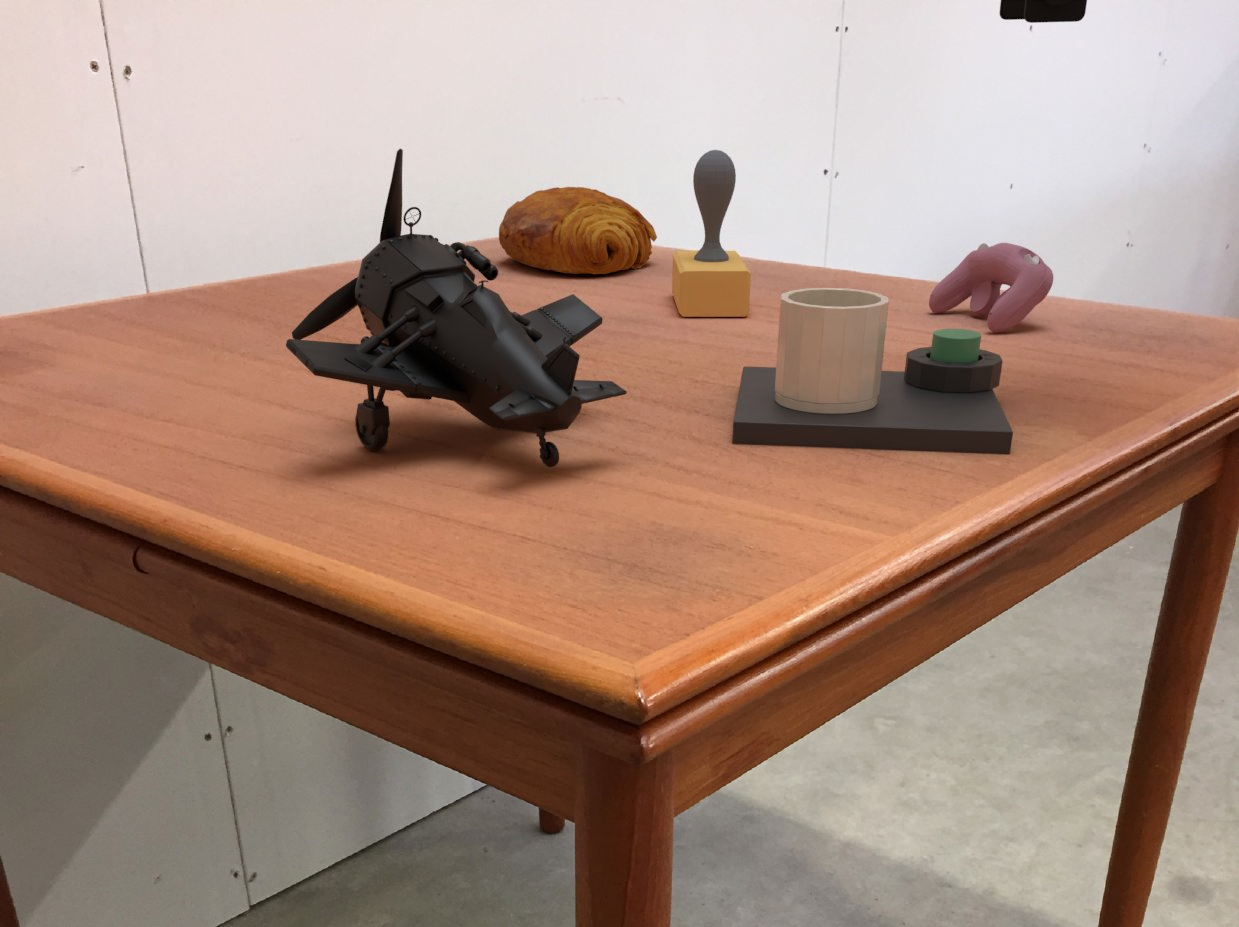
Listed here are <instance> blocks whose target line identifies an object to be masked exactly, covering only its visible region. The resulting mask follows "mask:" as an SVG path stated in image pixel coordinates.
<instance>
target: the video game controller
mask: <svg viewBox="0 0 1239 927" xmlns="http://www.w3.org/2000/svg"><path fill="white" fill-rule="evenodd" d="M1053 284H1054V273H1053V270H1052V269H1051V267H1050V266H1048V264H1046V263H1045V262H1044V260H1043V259H1042V258H1041V256H1039V255H1038V254H1037V253H1035V252H1034V251H1033V250H1031V249H1029V248H1027V247H1024V246H1021V245H1017V244H1015V243H1010V242H999V243H996V244H993V245H990V246H989V245H988V244H987V243H985V242H983V243H980V244H979V246H978V248H977V249H976V250H972V251H970V252H969V253H968V254H967V255H966V256H965V257H964V259H962V260H961V262H960V263H959V264H958V265H957V266H956V267H955V268H954V269H953V270H951V272H950V273H948V274H947V275H945V277H944V278H943V279H941V280H940V281H939V283H937V285H935V287H934V288H933V290H932V292H931V293H930V296H929V301H928V307H929V309H930V310H931V312H932V313H934V314H940V313H945V312H948V311H950V310H952V309H954V308H956V307H958V306H959V305H961V304H962V303H963V302H965V301H966V300H968V299H969V298H970V301H969V309H970V310H971V311H972V312H974V313H975V314H977V315H979V316H980V317H982V318H983V317H984V318H985V317H987V318H986V325H987V328H988V330H989V331H990V332H992V333H993V334H995V333H1001V332H1004V331H1008V330H1010V329H1013V328H1014V327H1016V326H1017V325H1018V324H1020V323H1021V322H1022V321H1023V320H1024V319H1025V318H1026V317H1027V316H1028V315H1029V314H1030V313H1031V312H1032V311H1033V310H1034V308H1035V307H1036V306H1038V305H1039V304H1041V303H1042V301H1044V300H1045V299H1046V297H1047V296H1048V294H1049V293H1050V291H1051V289H1052V286H1053ZM1002 285H1006V286H1008V288H1007V289H1006V290H1004V291H1003V292H1002V293H1001V288H1002Z"/></svg>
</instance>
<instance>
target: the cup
mask: <svg viewBox="0 0 1239 927" xmlns="http://www.w3.org/2000/svg"><path fill="white" fill-rule="evenodd" d="M779 302H780V303H779V317H778V318H779V319H778V333H777V350H776V365H775V367H776V379H775V396H774V399H775V401H776V403H778V404H779V405H781V406H783V407H786V408H789V409H792V410H797V411H802V412H809V413H818V414H848V413H857V412H862V411H866V410H869V409H872V408H874V407H875V406H876V405H877V404H878V395H879V392H880V382H881V372H882V371H883V360H884V350H885V343H886V335H887V334H886V333H887V325H888V324H887V323H888V313H889V304H890V301H889V297H887V296H886V295H883V294H881V293H879V292H874V291H869V290H865V289H863V290H862V289H856V288H855V289H854V288H846V287H845V288H844V287H809V288H800V289H793V290H789V291H786V292H784V293H781V294H780V300H779Z"/></svg>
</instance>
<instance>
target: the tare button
mask: <svg viewBox="0 0 1239 927" xmlns="http://www.w3.org/2000/svg"><path fill="white" fill-rule="evenodd" d="M981 341H982V334H981V333H980V332H978V331H975V330H972V329H965V328H940V329H937V330H934V331H933V332H932V338H931V346H930V347H931V354H930V359H933V360H937V361H944V362H955V363H969V362H977V361H978V356H979V349H981Z"/></svg>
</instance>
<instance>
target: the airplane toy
mask: <svg viewBox="0 0 1239 927" xmlns="http://www.w3.org/2000/svg"><path fill="white" fill-rule="evenodd" d="M403 158H404V150H403V148H399V149H398V150H397V151H396V154H395V160H394V164H393V170H392V175H391V180H390V185H389V190H388V194H387V198H386V203H385V206H384V213H383V218H382V223H381V227H380V228H381V229H380V235H379V243H377V244H376V245H375V247H374V248H372V249H371V250H370V251H369V252H368V253H367V254H366V255H365V256H364V257H363V258H362V259H361V262H360V263H361V264H360V268H359V270H358V271H359V272H358V275H357V277H355V278H353V279H352V280H350V281H349V282H347V283H346V284H344V285H343V286H342V287H340V288H339V289H337V290H335V291H334V292H333V293H331V294H329V296H327V297H326V298H325V299H324V300H323V301H321V302H320V303H319V304H318V305H317V306H316V307H314V309H312V310H311V311H310V312H309V313H308V314H307V315H306V317H305V318H303V319H302V320H301V322H300V323H299V324H298V325H297V326H296V327H295V328H294V329H293V330H292V331H291V336H292V338H288V339H287V340H286V343H285V347H286V348H287V350H288V351H289V352H291V354H292V355H294V356H295V357H296V358H297V360H298V361H300V362H301V363H302V365H303V366H305V367H306V368H307V369H308V370H309V371H310V372H311V373H312V374H313V375H314V376H316V377H321V378H327V379H332V380H338V381H343V382H348V383H354V384H359V385H364V386H366V390H367V398H365V399H363V401H362V402H360V403H357V407H356V413H355V418H354V421H355V422H354V425H355V432H356V434H357V437H358V438H359V442H360V443H361V445H363V448H366V449H367V450H369V451H373V452H376V451H380V450H382V449H383V448H385V447H386V445H387V443H388V440H389V427H390V426H391V420H390V419H391V418H390V409H389V406H388V405H386V404H385V402H384V401H383V400H384V397H385V394H386V391H390V392H394V391H397V392H400V393H401V394H402V395H403V396H404V397H405V398H407V399H418V400H428V401H431V400H432V398H436V399H440V400H441V399H442V400H447V401H452V402H454V403H455V404H457V405H459V406H460V407H461V408H462V409H464V410H465V411H466V412H468V413H470V414H471V415H472V416H473V417H475V418H476V419H478V420H479V421H480V422H482V423H483V424H485V425H487V426H489V427H491V428H493V429H496V430H498V431H505V432H506V431H507V432H517V433H526V434H527V433H528V434H535V435H536V437H537V438H538V439H539V441H538V444H539V446H540V448H539V458H540V459H541V461H542V463H543V464H544V466H546V467H547V468H555V467H556V466H557V465H558V464H559V461H560V452H559V449H558V446H557V445H556V444H555V443H554V442H552V441H549V440H548V441H547V439H546V438H545V437H546V436H547V434H546V433H552V432H559V431H563V430H568V429H569V427H570V426H571V425H572V424H573V422H574V421H575V420H576V418H577V417H578V416H579V414H580V412H581V411H582V406H583V405H585V404H588V403H593V402H594V403H595V402H597V401H602V400H606V399H612V398H615V397H621V396H625V395H626V394H627V393H628V391H626V390H625V389H624V388H623V387H622V386H619V384H616V383H615V382H614V381H613V380H589V379H588V380H587V379H585V380H584V379H576V375H577V370H578V366H579V362H580V357H581V355H580V354H579V353H578V352H577V351H575V349H573V348H572V347H571V346H574V344H575V343H577V342H579V341H580V340H581V339H583V338H584V337H585V336H587V335H588V334H590V333H591V332H592V331H594V330H596V329H597V328H598V327H599V326H601V325H602V324H603V317H602V316H601V315H600V314H599V313H598V312H596V311H595V310H593V309H592V308H591V307H590V306H588V305H587V304H586V303H585V302H584V301H582V299H580V298H579V297H578V296H576V295H575V294H574V293H573V294H569V295H567V296H564V297H562V298H560V299H558V300H555V301H553V302H550V303H548V304H545V305H543V306H541V307H538V308H536V309H533V310H531V311H528V312H526V313H524V314H520V313H518V312H517V311H511V310H510V309H509V308H508V307H507V305H506V304H505V302H504V300H503V299H502V297H501V296H500V294H499V293H497V292H496V291H493V290H492V289H490V288H488V287H486V286H485V284H484V283H489V281H495V280H496V279H497V278H498V275H499V269H498V267H497V266H496V265H494V264H492V262H491V260H490V259H489V258H488V257H487V256H485V255H484V254H482V253H481V252H480V250H479V249H477V248H476V246H473V245H468V244H467V245H466V244H465V243H463V242H460V241H457V242H456V241H455V242H452V243H451V244H450V245H449V244H448V243H445V244H443V243H441V242H440V240H439V239H438V237H434V235H432V234H418V233H413V227H414V226H416V225H417V224H418V223H419V222H420V220H421V218H422V211H421V209H420V208H419V207H417V206H411V207H409V208H408V209H407V210H406V211H405V212H404V215H403V161H404V160H403ZM413 210H417V212H418V213H417V214H415V215H413V214H412V213H411V211H413ZM408 213H410V217H407V214H408ZM415 216H418V218H417V220H415V218H414V217H415ZM406 217H407V218H406ZM411 218H412V219H413V221H414V222H407V220H408V219H411ZM402 222H404V225H405V226H408V227H409V233H406V234H402ZM467 262H468V264H469V265H470V266H471V268H473V269H474V270H476V271H478V272H479V273H480V274H481V275H482V276H483V277H484V278H485V279H486V280H484V279H481V280H480V281H478V284H479V285H477V283H475V279H476V274H475V273H474V272H473V271H472V270H471V268H470V267H468V265H467ZM356 307H358V309H359V311H360V315H361V317H362V321H363V323H364V326H365V328H366V330H367V331H369V333H370V335H371V336H370V337H369V336H363V337H362V338H361V339H360V343H348V342H347V343H346V342H337V341H336V342H334V341H333V342H332V341H321V340H310V339H306V338H308V337H310V336H313V335H314V334H316V333H318V332H321V331H322V330H324V329H325V328H327V327H329V326H331V325H332V324H334V323H335V322H337V321H338V320H340V319H342V318H344V316H345V317H346V315H347V314H349V313H350V312H351V311H352V310H354V309H355V308H356ZM374 387H376V388H379V389H378V392H377V395H376V397H375V391H374Z"/></svg>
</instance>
